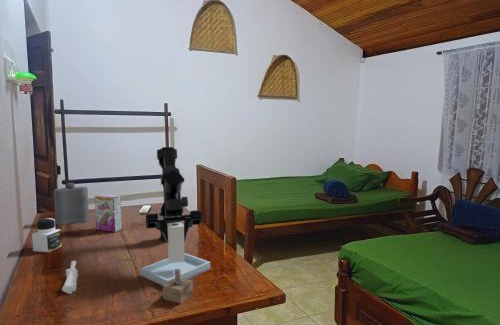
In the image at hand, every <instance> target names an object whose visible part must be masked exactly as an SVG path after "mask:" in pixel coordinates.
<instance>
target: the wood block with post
mask: <svg viewBox="0 0 500 325" xmlns="http://www.w3.org/2000/svg"><path fill="white" fill-rule="evenodd" d="M193 294H194V281H193V280H192V279H188V280H187V279H183V278H181V269H175V278H174V279H172V280H171V281H169V282H168V283H166V284H165V285H163V286H162V296H163V300H165V301H169V302H173V303H177V304H182V303H183V302H185V301H186V300H187V299H189V298H190V297H191V296H192V295H193Z"/></svg>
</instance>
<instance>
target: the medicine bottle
mask: <svg viewBox="0 0 500 325" xmlns="http://www.w3.org/2000/svg"><path fill="white" fill-rule="evenodd" d="M36 226H37V227H36V230H37V231H35V232H33V233H31V236H32V237H31V238H32V239H31V241H32V252H39V253H50V252H52V251H55V250H56V249H59V248H61V247H62V230H61V229H59V228H57V229H56V221H55V218H52V217H51V218H50V217H46V218H41V219H39V220H37V221H36Z"/></svg>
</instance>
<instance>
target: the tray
mask: <svg viewBox="0 0 500 325" xmlns="http://www.w3.org/2000/svg"><path fill="white" fill-rule="evenodd" d="M184 257H185V262H178V263H169V260H168V257H167V258H165V259H162V260H159V261H157V262H154V263H152V264H149V265H147V266H143V267H142V268H140V276H141V277H143V278H145V279H147V280H148V281H151V282H153V283H155V284H157V285H159V286H161V287H163V285H165V284H166V283H168V282H169V281H171V280H172V279H174V278H175V269H181V278H183V279H187V280H191V279H192V278H194V277H196V276H199V275H201V274H203V273H205V272H207V271H210V270H211V261H208V260H206V259H204V258H200V257H197V256H195V255H192V254H189V253H186V252H184Z"/></svg>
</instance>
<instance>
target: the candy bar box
mask: <svg viewBox="0 0 500 325" xmlns="http://www.w3.org/2000/svg"><path fill="white" fill-rule="evenodd" d="M121 197H122V196H121V195H116V194H115V195H114V194H113V195H112V194H106V193H104V194H96V195H95V196H94V204H95V205H94V207H95V208H94V209H95V210H94V211H95V223H96V224H95V228H96V230H97V231H103V232H104V231H105V232H109V233H110V232H111V233H117V232H119V231H121V230H123V229H122V227H123V226H122V222H123V221H122V203H121V201H122V199H121Z"/></svg>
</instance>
